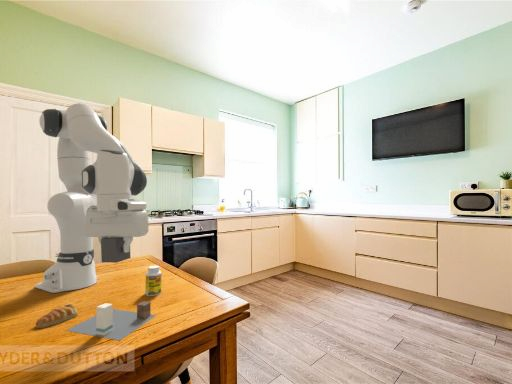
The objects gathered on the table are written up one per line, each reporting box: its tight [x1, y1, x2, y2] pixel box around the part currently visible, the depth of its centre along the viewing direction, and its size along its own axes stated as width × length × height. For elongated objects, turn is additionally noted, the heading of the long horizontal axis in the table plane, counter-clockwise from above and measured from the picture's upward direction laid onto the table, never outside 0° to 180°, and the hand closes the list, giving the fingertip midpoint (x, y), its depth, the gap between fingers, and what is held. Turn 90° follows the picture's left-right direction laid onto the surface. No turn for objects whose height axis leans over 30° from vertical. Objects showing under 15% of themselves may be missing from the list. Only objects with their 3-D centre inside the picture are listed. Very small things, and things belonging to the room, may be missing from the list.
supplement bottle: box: [144, 265, 163, 297], centre depth 93 cm, size 6×6×10 cm
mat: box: [65, 308, 157, 341], centre depth 71 cm, size 18×14×1 cm
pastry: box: [35, 303, 79, 329], centre depth 73 cm, size 9×7×4 cm
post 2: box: [136, 300, 152, 319], centre depth 74 cm, size 3×3×4 cm
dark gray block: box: [100, 237, 131, 264], centre depth 72 cm, size 5×5×7 cm
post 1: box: [96, 302, 114, 335], centre depth 66 cm, size 3×3×7 cm
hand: (116, 252), depth 72 cm, fingers closed on dark gray block, 5 cm apart
